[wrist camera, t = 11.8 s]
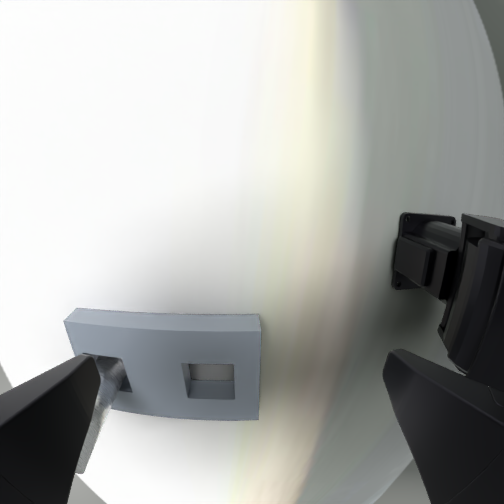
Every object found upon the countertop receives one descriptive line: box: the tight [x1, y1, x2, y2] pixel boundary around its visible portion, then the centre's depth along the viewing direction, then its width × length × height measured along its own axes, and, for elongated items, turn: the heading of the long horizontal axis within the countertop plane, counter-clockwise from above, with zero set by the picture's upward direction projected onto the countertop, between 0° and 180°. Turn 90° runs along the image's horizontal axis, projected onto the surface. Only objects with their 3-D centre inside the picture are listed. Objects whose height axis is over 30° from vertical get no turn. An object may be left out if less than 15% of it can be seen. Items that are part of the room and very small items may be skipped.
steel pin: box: [75, 355, 127, 474], centre depth 16 cm, size 3×3×12 cm
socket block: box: [64, 308, 261, 421], centre depth 21 cm, size 16×10×2 cm, turn 90°
